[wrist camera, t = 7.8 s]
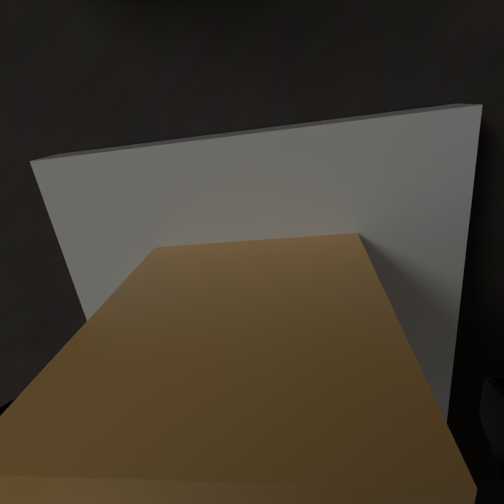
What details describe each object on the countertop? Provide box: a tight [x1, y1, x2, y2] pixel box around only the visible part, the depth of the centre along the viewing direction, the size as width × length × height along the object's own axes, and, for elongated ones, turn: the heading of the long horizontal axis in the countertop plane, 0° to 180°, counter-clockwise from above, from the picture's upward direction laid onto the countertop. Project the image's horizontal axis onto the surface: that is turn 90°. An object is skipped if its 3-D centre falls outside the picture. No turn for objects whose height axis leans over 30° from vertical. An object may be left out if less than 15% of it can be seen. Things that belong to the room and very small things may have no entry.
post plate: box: [30, 104, 482, 423], centre depth 8 cm, size 10×10×6 cm
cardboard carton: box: [0, 233, 477, 504], centre depth 7 cm, size 5×5×6 cm
